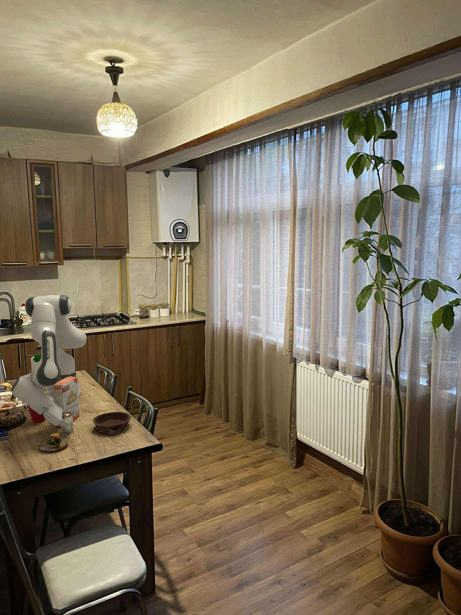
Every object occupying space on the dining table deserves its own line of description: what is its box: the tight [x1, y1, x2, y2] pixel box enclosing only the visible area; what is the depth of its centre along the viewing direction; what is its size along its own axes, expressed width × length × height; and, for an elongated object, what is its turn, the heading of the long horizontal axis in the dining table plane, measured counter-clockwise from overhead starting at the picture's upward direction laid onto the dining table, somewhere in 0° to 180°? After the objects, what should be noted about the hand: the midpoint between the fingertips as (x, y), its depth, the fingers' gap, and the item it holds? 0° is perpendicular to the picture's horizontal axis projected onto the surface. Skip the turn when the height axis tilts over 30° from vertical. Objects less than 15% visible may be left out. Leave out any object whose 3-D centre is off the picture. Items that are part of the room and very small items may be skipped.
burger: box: [38, 432, 69, 452], centre depth 197 cm, size 12×12×8 cm
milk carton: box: [30, 353, 42, 372], centre depth 283 cm, size 9×9×20 cm
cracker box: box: [52, 376, 80, 428], centre depth 224 cm, size 14×6×21 cm, turn 168°
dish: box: [92, 411, 132, 435], centre depth 217 cm, size 18×22×5 cm
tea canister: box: [60, 412, 74, 436], centre depth 212 cm, size 6×6×9 cm
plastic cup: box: [26, 404, 46, 424], centre depth 226 cm, size 11×11×12 cm
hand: (67, 421), depth 212 cm, fingers open, 7 cm apart
